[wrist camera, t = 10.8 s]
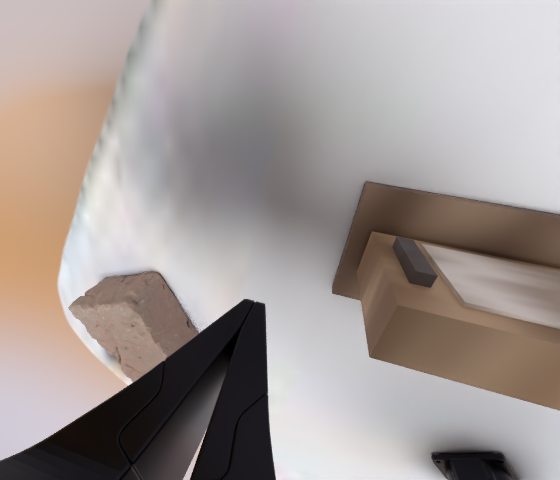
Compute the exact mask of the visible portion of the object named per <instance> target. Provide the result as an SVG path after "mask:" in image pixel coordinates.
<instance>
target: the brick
mask: <svg viewBox="0 0 560 480" xmlns="http://www.w3.org/2000/svg"><path fill="white" fill-rule="evenodd" d="M69 310H70V311H71V312H72V314H73V315H74V317H75V318H77V319H79V320H80V321H81V322H82V323H83V324H84V325H85V326H86V329H87V332H88V333H89V334H90V335H91V337H92V338H94V339H96V340H97V342H98V343H99V344H100V345H101V346H102V347H103V348H105V349H106V350H107V351H108V353H109V354H110V355H114V356H116V358H117V360H118V362H119V364H120V365H122V368H121V369H122V371H123V373H124V374H125V375H126V376H127V377H129V378H131V380H132V381H133V382H135V381H136V380H137V379H139V378H140V377H142V376H143V375H144V374H146V373H147V372H148V371H150V370H151V369H153V368H154V367H155V366H156V365H158V364H159V363H160V362H162V361H165V359H166V358H167V357H169V356H170V355H171V354H172V353H174V352H175V351H176V350H178V349H179V348H180V347H182V346H183V345H184V344H186V343H187V342H188V341H190V340H191V339H192V338H194V337H195V336H196V335H198V334H199V333H198V331H197V330H196V328H195V327H194V326H193V324H192V323H191V321H190V319H189V318H188V316H187V314H186V313H185V312H184V310H183V309H182V307H181V305H180V303H179V302H178V300H177V298H176V297H175V296H174V294H173V293H172V292H171V291H170V289H169V288H168V286H167V285H166V283H165V282H164V280H163V278H162V277H161V276H160V275H159V274H158V273H156V272H150V273H149V272H143V273H140V274H136V275H129V276H112V277H107V278H105V279H104V280H102V281H101V282H99V283H98V284H97V285H96V286H94V287H93V288H91V289H89V290H88V291H86V292H85V296H80V297H79V298H77V299H76V300H75V301H74V302H73V303H72V304H71V305H70V307H69Z"/></svg>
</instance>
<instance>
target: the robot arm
mask: <svg viewBox="0 0 560 480" xmlns="http://www.w3.org/2000/svg"><path fill="white" fill-rule="evenodd" d="M207 427H208V428H207ZM206 429H207V431H206ZM205 431H206V434H205ZM204 434H205V437H204V440H203V443H202V446H201V449H200V451H199V455H198V458H197V460H196V464H195V466H194V469H193V472H192V475H191V478H190V480H276V477H275V469H274V462H273V455H272V446H271V437H270V426H269V408H268V378H267V343H266V309H265V304H264V303H260V302H254V301H253V300H249V299H244V300H242V301H241V302H240V303H239V304H237V305H236V306H235V307H233V308H232V309H231V310H229V311H228V312H227V313H225V314H224V315H223V316H221V317H220V318H219V319H217V320H216V321H215V322H213V323H212V324H211V325H209V326H208V327H207V328H206V329H204V330H203V331H202V332H200V333H199V334H198V335H196V336H195V337H194V338H192V339H191V340H190V341H188V342H187V343H186V344H184V345H183V346H182V347H180V348H179V349H178V350H176V351H175V352H174V353H172V354H171V355H170V356H169V357H167V358H166V359H165V361H162V362H160V363H159V364H158V365H156V366H155V367H154V368H153V369H151V370H150V371H148V372H147V373H146V374H144V375H143V376H142V377H140V378H139V379H137V380H136V381H135V382H133V383H132V384H130V385H129V386H127V387H126V388H124V389H123V390H121V391H120V392H119V393H117V394H115V395H114V396H112V397H111V398H109V399H108V400H106V401H104V402H103V403H101V404H100V405H98V406H97V407H95V408H93V409H92V410H91V411H89V412H87V413H86V414H84V415H83V416H81V417H80V418H78V419H76V420H75V421H73V422H72V423H70V424H68V425H67V426H65V427H64V428H62V429H61V430H59V431H58V432H56V433H54V434H53V435H51V436H50V437H48V438H46V439H44V440H43V441H41V442H39V443H37V444H35V445H34V446H32V447H30V448H28V449H26V450H24V451H22V452H20V453H17V454H15V455H13V456H11V457H8V458H6V459H3V460H1V461H0V480H183V478H184V476H185V474H186V471H187V469H188V467H189V465H190V463H191V461H192V459H193V457H194V455H195V453H196V450H197V448H198V446H199V444H200V442H201V440H202V438H203V436H204ZM431 457H432V460H433V462H434V464H435V465H436V466H437V467H438V468H439V470H440V471H441V472H442V473H443V474H444V476H445V477H446V478H447V479H448V480H520V479H519V478H518V476H517V475H516V473H515V472H514V470H513V469H512V467H511V466H510V464H509V463H508V461H507V460H506V458H505V457H504V456H503V455H501V454H450V455H432V456H431Z"/></svg>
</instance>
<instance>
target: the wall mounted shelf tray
mask: <svg viewBox="0 0 560 480" xmlns="http://www.w3.org/2000/svg"><path fill="white" fill-rule="evenodd" d="M357 277H358V284H359V291H360V297H361V304H362V311H363V317H364V324H365V331H366V337H367V344H368V351H369V357H371V358H374V359H378V360H381V361H385V362H389V363H392V364H396V365H399V366H403V367H406V368H410V369H414V370H417V371H421V372H424V373H428V374H431V375H435V376H439V377H442V378H446V379H449V380H453V381H456V382H460V383H464V384H467V385H471V386H474V387H478V388H481V389H485V390H489V391H492V392H496V393H499V394H503V395H506V396H510V397H514V398H517V399H521V400H524V401H528V402H531V403H535V404H539V405H542V406H546V407H549V408H553V409H557V410H560V269H556V268H551V267H546V266H541V265H536V264H531V263H526V262H521V261H517V260H512V259H507V258H502V257H497V256H492V255H487V254H482V253H477V252H472V251H467V250H462V249H457V248H452V247H447V246H442V245H437V244H432V243H428V242H423V241H418V240H413V239H408V238H403V237H398V236H393V235H388V234H383V233H378V232H373V231H372V232H371V235H370V238H369V240H368V243H367V246H366V248H365V251H364V254H363V256H362V259H361V262H360V264H359V267H358V270H357Z"/></svg>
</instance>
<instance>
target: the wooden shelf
mask: <svg viewBox="0 0 560 480" xmlns="http://www.w3.org/2000/svg"><path fill="white" fill-rule="evenodd" d="M372 231H373V232H378V233H383V234H388V235H393V236H398V237H403V238H408V239H413V240H418V241H423V242H428V243H432V244H437V245H442V246H447V247H452V248H457V249H462V250H467V251H472V252H477V253H482V254H487V255H492V256H497V257H502V258H507V259H512V260H517V261H521V262H526V263H531V264H536V265H541V266H546V267H551V268H556V269H560V215H558V214H552V213H546V212H540V211H535V210H529V209H523V208H517V207H511V206H506V205H500V204H494V203H488V202H482V201H476V200H471V199H465V198H459V197H453V196H447V195H442V194H436V193H430V192H424V191H418V190H413V189H407V188H401V187H395V186H389V185H384V184H378V183H372V182H365V185H364V188H363V192H362V195H361V198H360V201H359V204H358V207H357V210H356V213H355V217H354V220H353V223H352V226H351V229H350V232H349V235H348V239H347V242H346V245H345V248H344V251H343V254H342V257H341V261H340V264H339V267H338V270H337V273H336V276H335V279H334V283H333V286H332V293H333V294H337V295H341V296H345V297H349V298H353V299H357V300H361V297H360V291H359V284H358V277H357V270H358V267H359V264H360V262H361V259H362V256H363V254H364V251H365V248H366V246H367V243H368V240H369V238H370V235H371V232H372Z"/></svg>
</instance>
